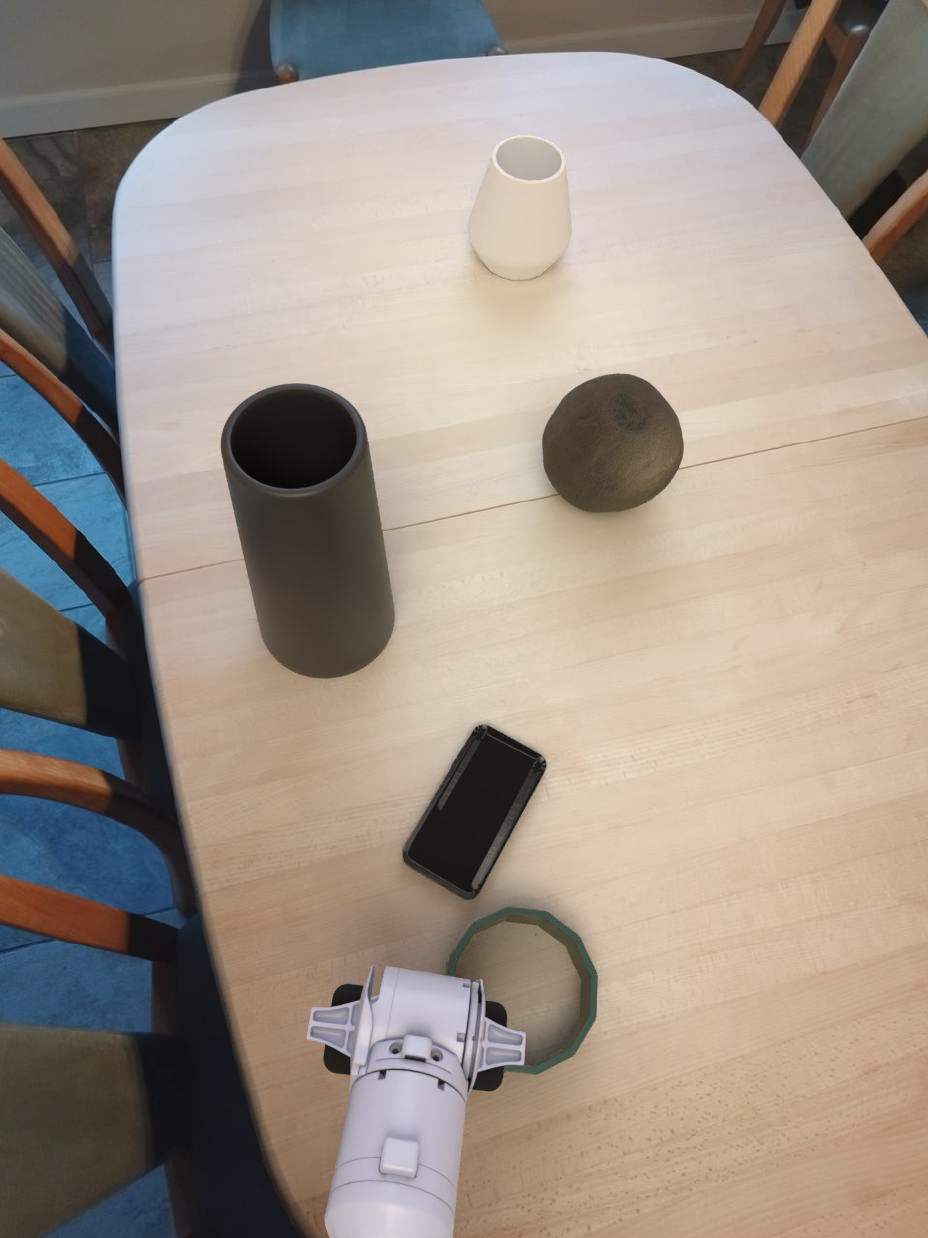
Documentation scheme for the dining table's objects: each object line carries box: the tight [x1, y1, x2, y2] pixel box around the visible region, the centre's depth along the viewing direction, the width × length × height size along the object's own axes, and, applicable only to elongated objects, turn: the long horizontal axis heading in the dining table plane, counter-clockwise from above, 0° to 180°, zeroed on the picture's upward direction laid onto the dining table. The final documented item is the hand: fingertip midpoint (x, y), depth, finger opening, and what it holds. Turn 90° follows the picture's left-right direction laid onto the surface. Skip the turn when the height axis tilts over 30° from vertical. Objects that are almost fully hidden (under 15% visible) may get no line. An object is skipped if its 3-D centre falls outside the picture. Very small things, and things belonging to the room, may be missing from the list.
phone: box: [402, 724, 547, 901], centre depth 80 cm, size 8×1×15 cm
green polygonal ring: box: [445, 906, 599, 1076], centre depth 72 cm, size 12×12×4 cm
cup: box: [466, 134, 573, 282], centre depth 108 cm, size 13×13×14 cm
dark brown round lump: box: [541, 372, 685, 514], centre depth 91 cm, size 14×14×15 cm
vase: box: [220, 382, 395, 679], centre depth 76 cm, size 14×14×29 cm
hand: (416, 1038), depth 66 cm, fingers open, 7 cm apart
